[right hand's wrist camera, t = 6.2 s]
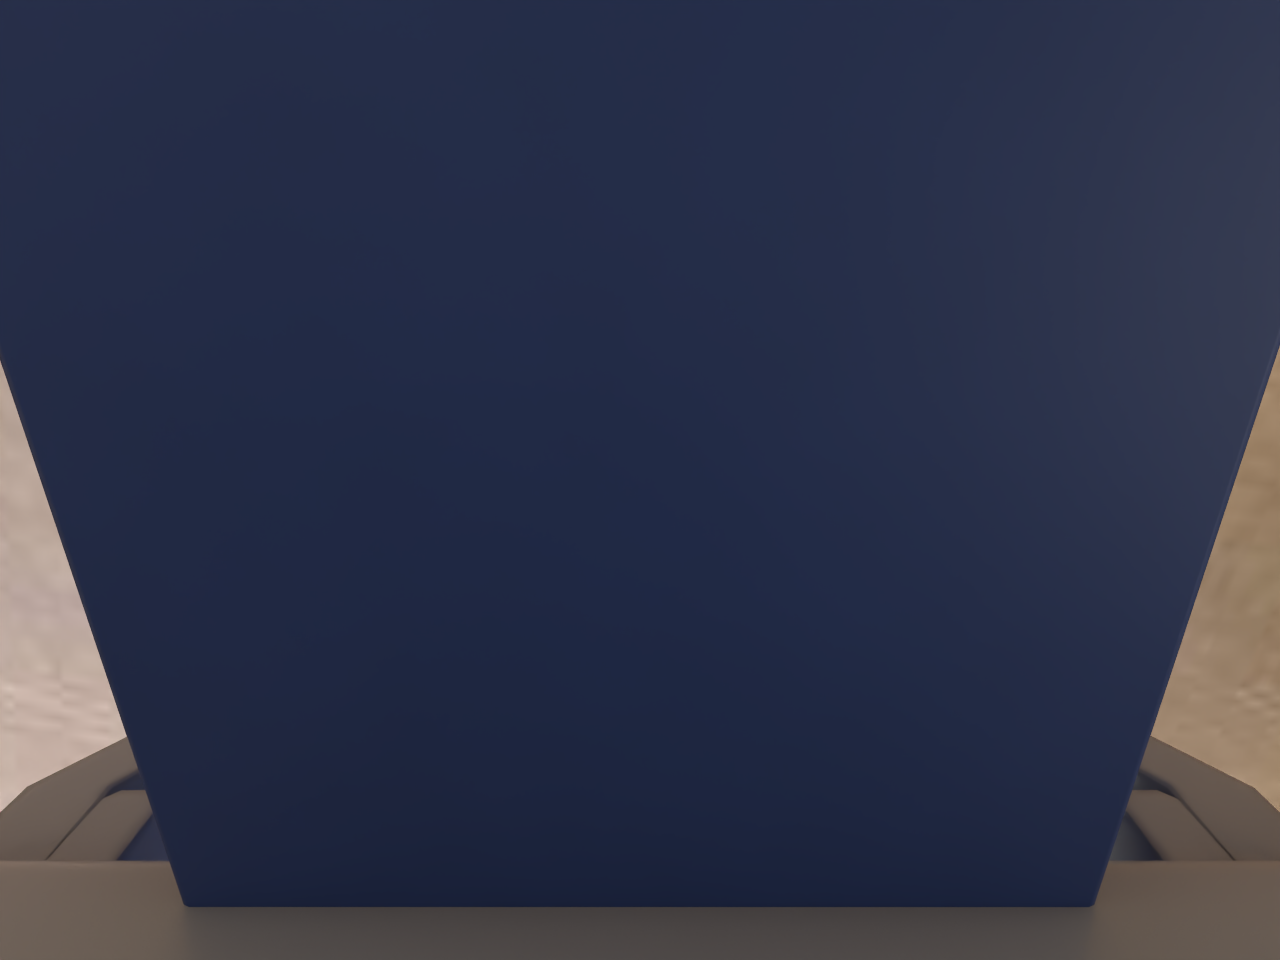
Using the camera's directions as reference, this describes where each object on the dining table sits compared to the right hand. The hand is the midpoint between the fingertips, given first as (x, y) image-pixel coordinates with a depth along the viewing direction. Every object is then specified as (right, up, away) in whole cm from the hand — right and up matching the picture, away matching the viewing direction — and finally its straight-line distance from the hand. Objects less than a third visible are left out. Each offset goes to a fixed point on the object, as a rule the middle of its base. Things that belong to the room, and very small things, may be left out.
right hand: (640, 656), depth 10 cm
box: (0, +12, +2) cm, 12 cm away
